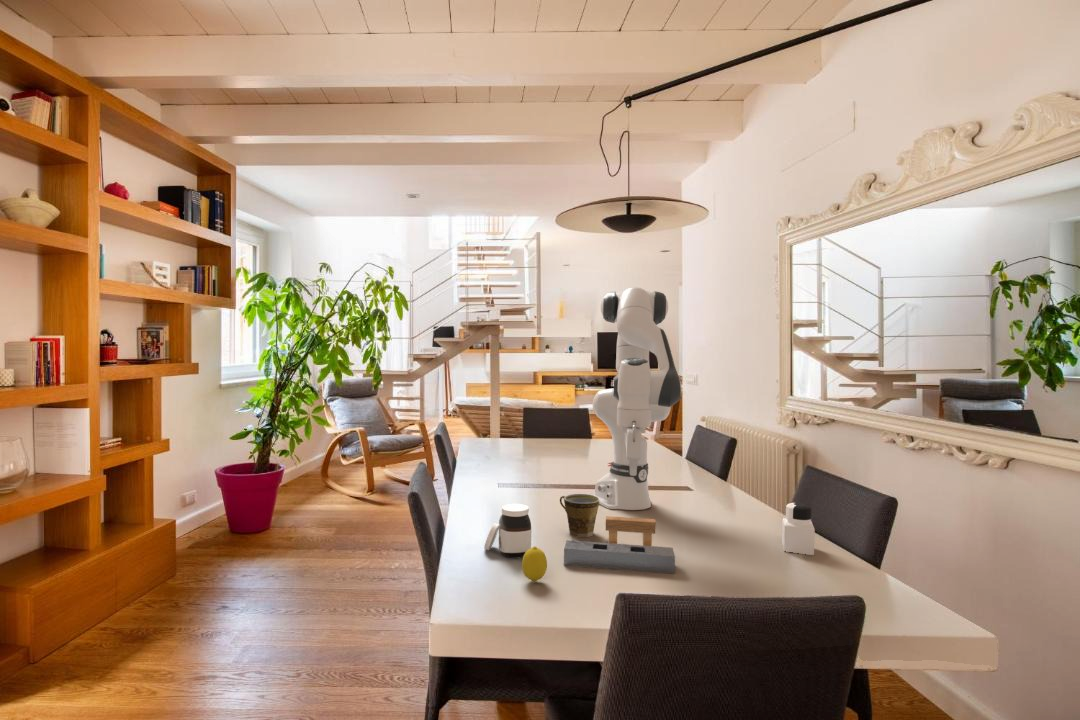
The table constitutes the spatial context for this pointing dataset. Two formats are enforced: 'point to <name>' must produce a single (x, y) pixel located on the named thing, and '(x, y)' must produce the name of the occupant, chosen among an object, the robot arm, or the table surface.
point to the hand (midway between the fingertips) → (632, 471)
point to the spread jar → (512, 531)
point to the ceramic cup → (581, 513)
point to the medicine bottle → (798, 529)
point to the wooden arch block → (630, 528)
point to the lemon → (534, 564)
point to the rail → (619, 556)
